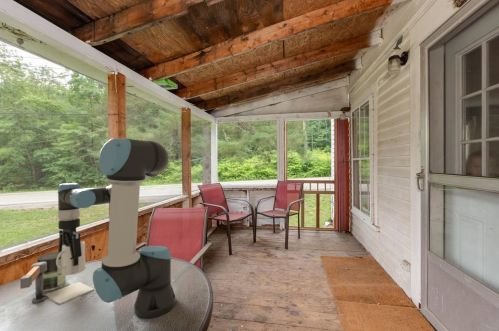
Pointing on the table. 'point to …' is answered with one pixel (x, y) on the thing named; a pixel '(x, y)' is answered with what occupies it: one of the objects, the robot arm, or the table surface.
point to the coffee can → (52, 272)
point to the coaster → (69, 293)
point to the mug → (67, 261)
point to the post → (39, 289)
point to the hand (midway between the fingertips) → (69, 270)
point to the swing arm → (32, 274)
